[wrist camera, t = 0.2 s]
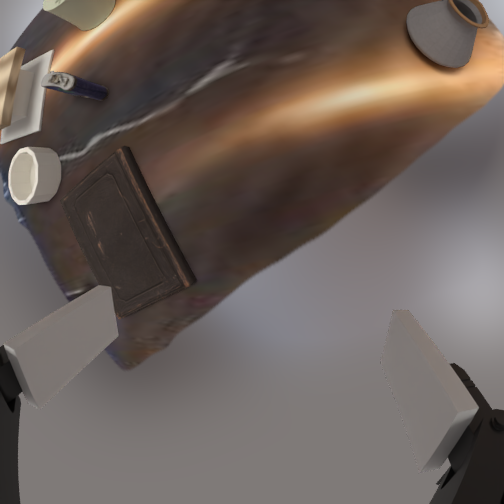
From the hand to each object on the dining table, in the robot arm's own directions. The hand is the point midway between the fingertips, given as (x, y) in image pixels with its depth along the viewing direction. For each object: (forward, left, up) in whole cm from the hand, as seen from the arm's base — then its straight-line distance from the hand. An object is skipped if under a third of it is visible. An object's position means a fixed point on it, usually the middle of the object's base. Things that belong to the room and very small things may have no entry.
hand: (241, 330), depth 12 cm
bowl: (-9, -43, -28) cm, 52 cm away
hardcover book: (+2, -24, -29) cm, 37 cm away
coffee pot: (-36, +21, -28) cm, 50 cm away
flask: (-23, -32, -28) cm, 48 cm away
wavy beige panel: (-27, -53, -21) cm, 63 cm away
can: (-42, -35, -28) cm, 61 cm away
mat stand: (-27, -53, -28) cm, 66 cm away
